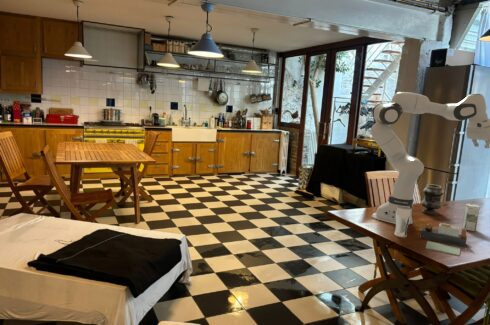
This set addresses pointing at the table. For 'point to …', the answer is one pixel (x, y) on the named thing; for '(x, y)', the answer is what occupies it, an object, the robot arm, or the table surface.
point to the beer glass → (402, 220)
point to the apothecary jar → (432, 198)
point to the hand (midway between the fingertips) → (481, 147)
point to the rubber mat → (443, 248)
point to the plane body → (443, 236)
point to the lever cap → (448, 230)
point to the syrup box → (471, 217)
